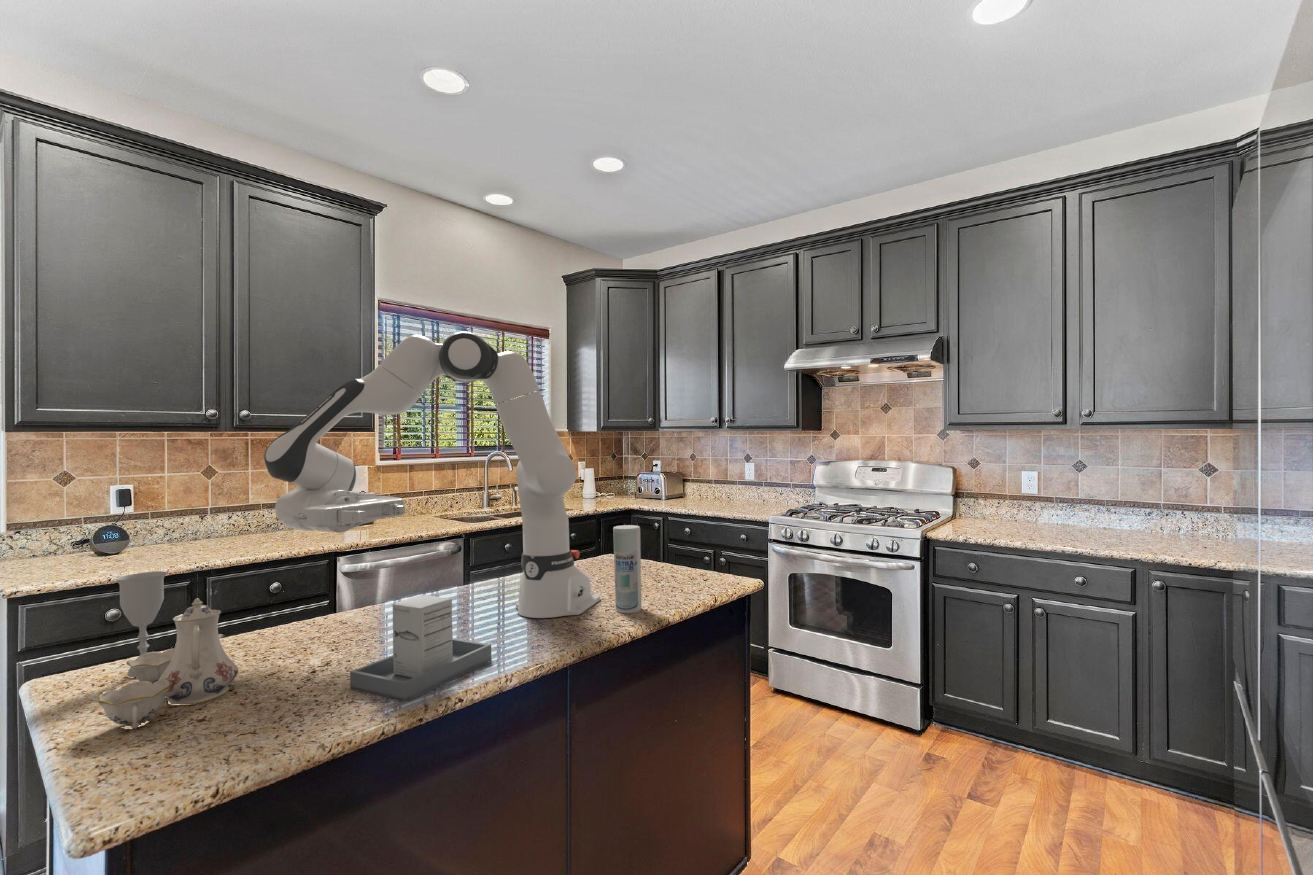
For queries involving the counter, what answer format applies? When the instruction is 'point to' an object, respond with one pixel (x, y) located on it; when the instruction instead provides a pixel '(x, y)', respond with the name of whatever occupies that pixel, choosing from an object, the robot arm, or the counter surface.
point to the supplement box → (421, 634)
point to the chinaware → (175, 671)
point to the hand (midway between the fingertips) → (382, 512)
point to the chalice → (141, 602)
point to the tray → (403, 688)
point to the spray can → (627, 568)
